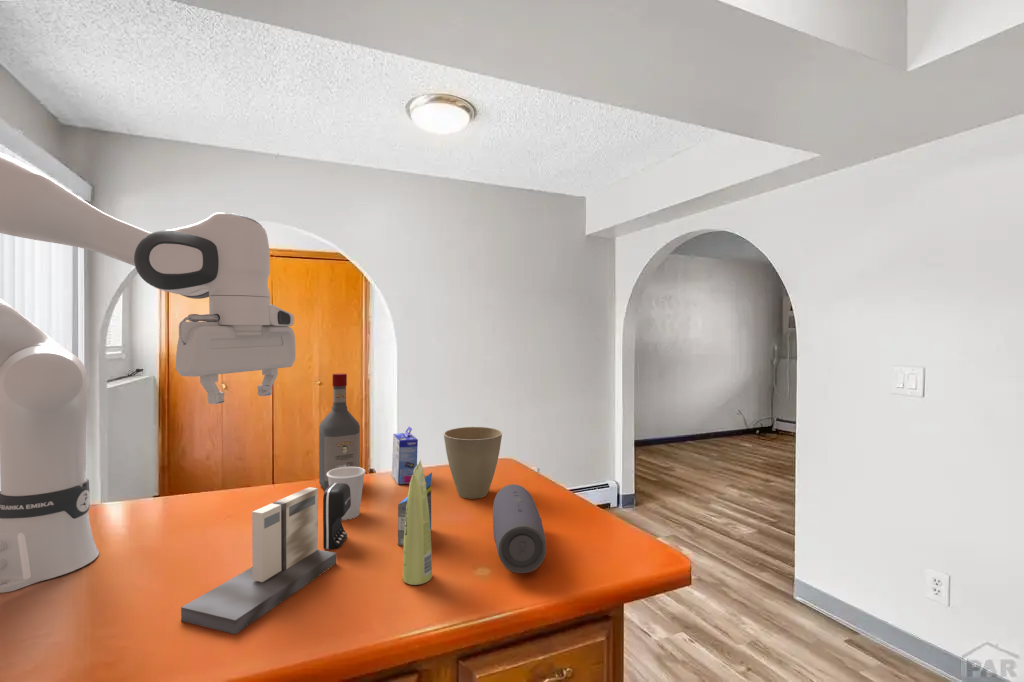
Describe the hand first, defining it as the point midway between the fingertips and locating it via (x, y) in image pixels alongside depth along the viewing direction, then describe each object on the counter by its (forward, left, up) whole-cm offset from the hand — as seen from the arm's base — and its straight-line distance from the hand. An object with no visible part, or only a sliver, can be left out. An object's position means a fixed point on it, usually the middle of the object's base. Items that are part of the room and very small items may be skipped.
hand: (241, 399), depth 83 cm
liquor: (+9, +50, -31) cm, 60 cm away
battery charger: (+13, +13, -31) cm, 36 cm away
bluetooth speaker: (+47, +3, -31) cm, 57 cm away
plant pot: (+43, +37, -31) cm, 65 cm away
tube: (+28, -4, -31) cm, 42 cm away
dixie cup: (+13, +28, -31) cm, 44 cm away
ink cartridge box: (+26, +53, -31) cm, 67 cm away
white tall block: (+4, -3, -28) cm, 29 cm away
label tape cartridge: (+28, +13, -31) cm, 44 cm away
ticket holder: (+4, -3, -31) cm, 31 cm away
